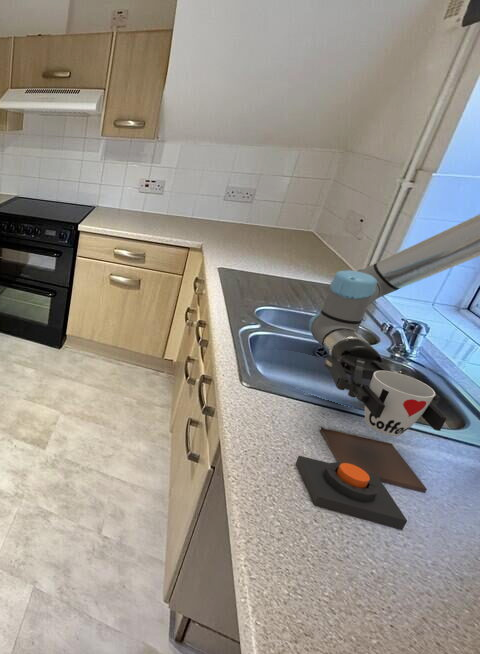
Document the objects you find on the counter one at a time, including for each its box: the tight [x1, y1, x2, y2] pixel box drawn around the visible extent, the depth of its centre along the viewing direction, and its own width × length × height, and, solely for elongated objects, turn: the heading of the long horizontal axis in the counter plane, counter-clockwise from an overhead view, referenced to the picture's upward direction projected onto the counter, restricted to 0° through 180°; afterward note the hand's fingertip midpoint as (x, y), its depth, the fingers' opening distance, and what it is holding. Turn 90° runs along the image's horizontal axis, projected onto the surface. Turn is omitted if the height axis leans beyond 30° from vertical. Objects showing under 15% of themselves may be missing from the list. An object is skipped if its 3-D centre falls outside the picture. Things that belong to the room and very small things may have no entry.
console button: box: [337, 463, 370, 489], centre depth 73 cm, size 4×4×2 cm
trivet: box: [319, 427, 428, 494], centre depth 82 cm, size 12×12×1 cm
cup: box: [364, 371, 436, 437], centre depth 77 cm, size 8×8×10 cm
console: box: [295, 455, 408, 531], centre depth 73 cm, size 12×10×4 cm
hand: (409, 417), depth 73 cm, fingers closed on cup, 8 cm apart
